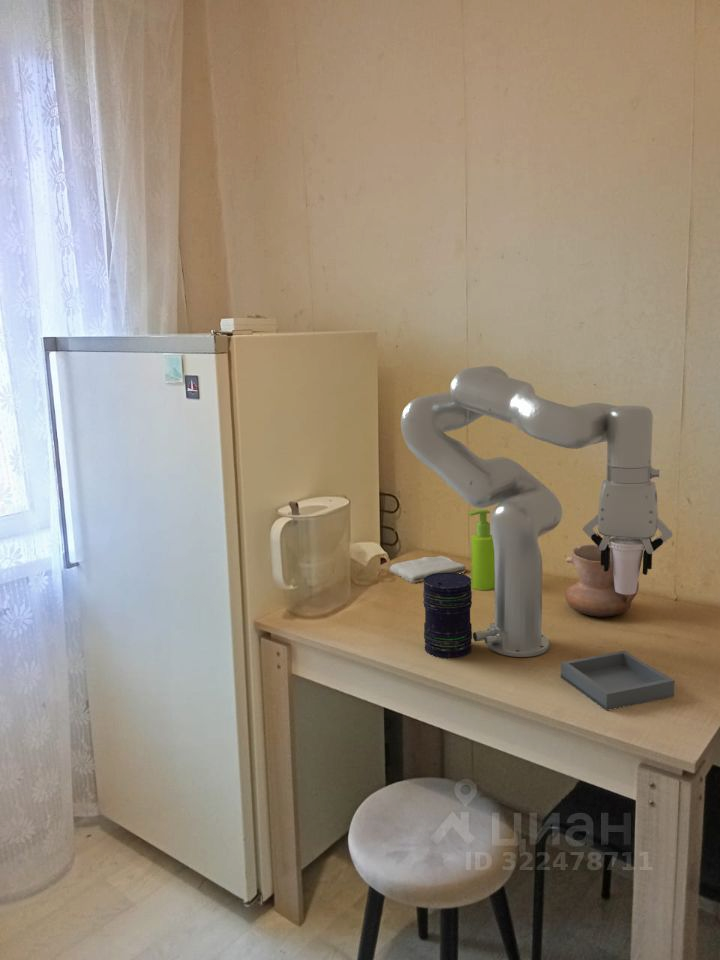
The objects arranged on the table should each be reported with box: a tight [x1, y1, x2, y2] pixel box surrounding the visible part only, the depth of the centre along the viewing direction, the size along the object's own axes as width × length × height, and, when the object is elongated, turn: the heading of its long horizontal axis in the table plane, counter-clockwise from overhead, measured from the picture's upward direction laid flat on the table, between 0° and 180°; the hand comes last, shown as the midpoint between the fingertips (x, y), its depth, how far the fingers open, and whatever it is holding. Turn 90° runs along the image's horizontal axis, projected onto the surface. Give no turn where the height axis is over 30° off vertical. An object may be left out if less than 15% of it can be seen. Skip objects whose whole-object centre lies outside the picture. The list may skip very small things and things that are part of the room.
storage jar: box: [422, 572, 473, 660], centre depth 159 cm, size 10×10×15 cm
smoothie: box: [608, 537, 645, 595], centre depth 143 cm, size 6×6×14 cm
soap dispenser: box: [467, 509, 495, 591], centre depth 196 cm, size 6×7×20 cm
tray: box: [560, 650, 676, 711], centre depth 141 cm, size 14×14×3 cm
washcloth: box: [389, 555, 466, 584], centre depth 210 cm, size 12×18×3 cm, turn 118°
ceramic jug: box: [564, 544, 640, 618], centre depth 177 cm, size 18×14×14 cm
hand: (625, 570), depth 143 cm, fingers closed on smoothie, 6 cm apart
